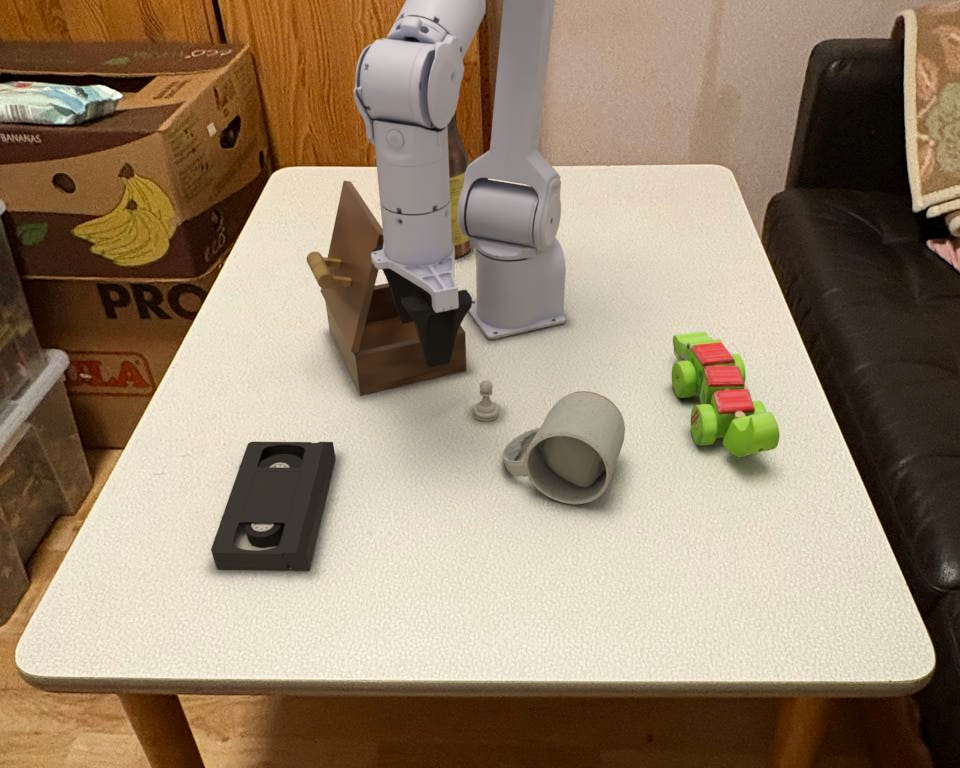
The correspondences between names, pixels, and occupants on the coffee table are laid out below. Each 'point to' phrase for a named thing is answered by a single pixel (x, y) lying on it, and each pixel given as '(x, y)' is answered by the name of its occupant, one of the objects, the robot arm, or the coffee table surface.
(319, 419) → the coffee table surface
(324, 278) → the lid
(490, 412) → the pawn
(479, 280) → the robot arm
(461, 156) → the sauce bottle
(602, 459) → the ceramic mug
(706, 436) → the toy crocodile
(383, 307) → the box
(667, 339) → the coffee table surface
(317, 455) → the vhs tape
